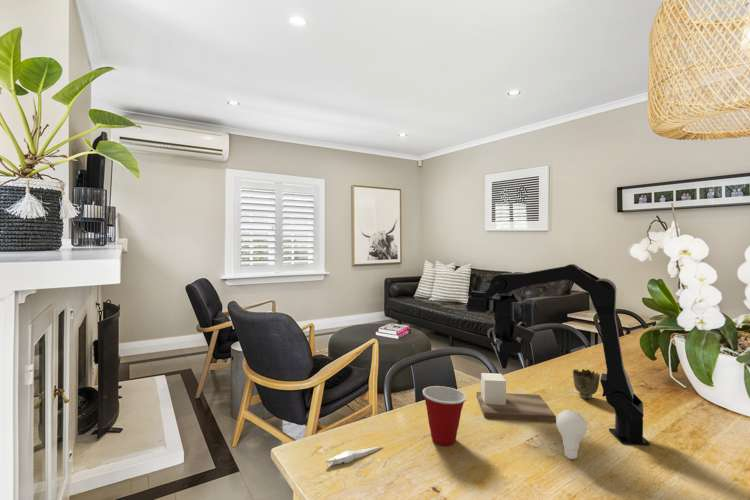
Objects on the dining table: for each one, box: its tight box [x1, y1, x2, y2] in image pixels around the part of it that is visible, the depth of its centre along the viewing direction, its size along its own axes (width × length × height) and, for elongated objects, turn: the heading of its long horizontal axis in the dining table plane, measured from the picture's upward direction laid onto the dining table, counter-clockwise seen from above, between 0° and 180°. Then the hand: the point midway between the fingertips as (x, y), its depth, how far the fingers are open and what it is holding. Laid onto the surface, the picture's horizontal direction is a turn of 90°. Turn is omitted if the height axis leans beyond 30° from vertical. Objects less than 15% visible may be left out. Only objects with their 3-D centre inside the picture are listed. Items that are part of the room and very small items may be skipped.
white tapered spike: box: [325, 446, 384, 468], centre depth 86 cm, size 15×3×2 cm, turn 122°
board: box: [476, 391, 557, 422], centre depth 111 cm, size 14×19×2 cm
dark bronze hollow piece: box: [572, 368, 601, 400], centre depth 118 cm, size 8×7×8 cm
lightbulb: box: [555, 409, 588, 460], centre depth 85 cm, size 6×6×11 cm
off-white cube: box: [480, 372, 507, 405], centre depth 113 cm, size 6×6×7 cm
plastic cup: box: [422, 385, 468, 447], centre depth 93 cm, size 11×11×12 cm
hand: (503, 368), depth 111 cm, fingers closed
